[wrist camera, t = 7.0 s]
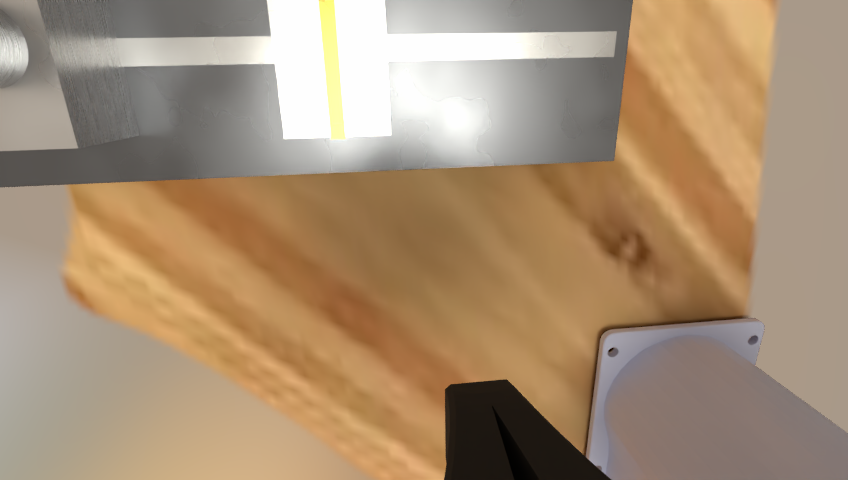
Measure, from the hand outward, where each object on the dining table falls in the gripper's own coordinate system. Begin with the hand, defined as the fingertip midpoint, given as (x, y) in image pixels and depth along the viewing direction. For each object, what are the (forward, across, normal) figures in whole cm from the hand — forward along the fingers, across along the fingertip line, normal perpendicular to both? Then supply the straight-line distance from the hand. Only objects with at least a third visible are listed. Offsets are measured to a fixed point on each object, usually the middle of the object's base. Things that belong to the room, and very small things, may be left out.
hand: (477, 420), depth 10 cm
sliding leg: (+8, +3, -8) cm, 11 cm away
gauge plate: (+9, +4, -8) cm, 13 cm away
